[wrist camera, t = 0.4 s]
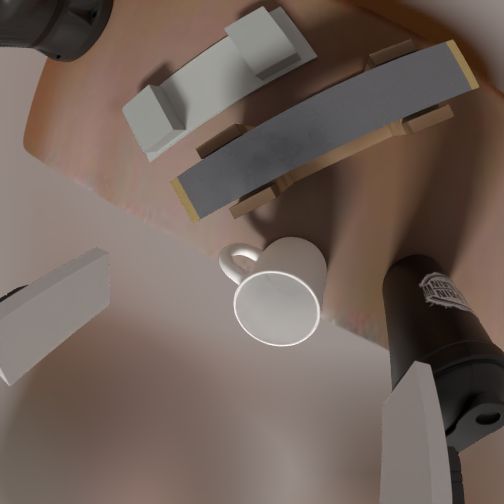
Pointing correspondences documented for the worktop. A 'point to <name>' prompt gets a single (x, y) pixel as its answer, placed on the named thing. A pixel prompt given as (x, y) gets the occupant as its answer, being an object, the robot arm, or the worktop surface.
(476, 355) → the water bottle
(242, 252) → the mug
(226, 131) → the rack
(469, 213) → the worktop surface
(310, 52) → the rest
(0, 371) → the robot arm
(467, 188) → the worktop surface
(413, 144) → the worktop surface
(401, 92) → the rail
